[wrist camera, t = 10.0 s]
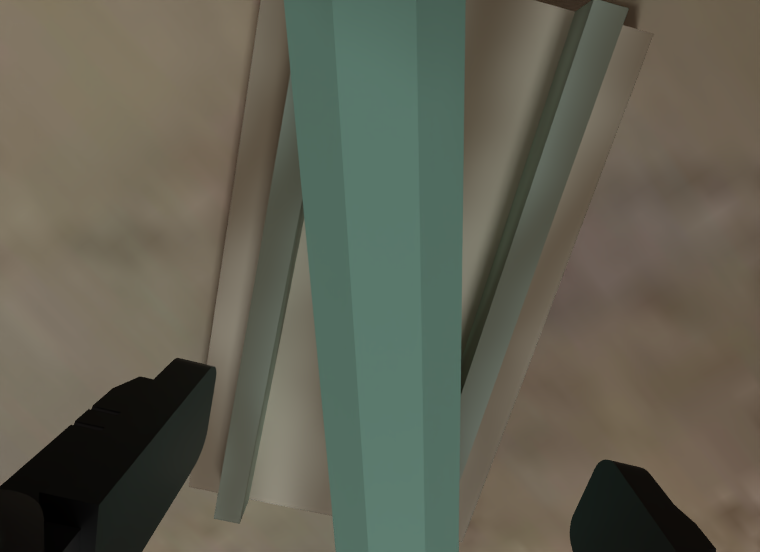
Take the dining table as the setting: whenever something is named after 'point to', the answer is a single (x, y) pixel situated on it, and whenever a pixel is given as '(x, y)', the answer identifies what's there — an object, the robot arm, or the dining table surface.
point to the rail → (479, 249)
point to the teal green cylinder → (385, 258)
